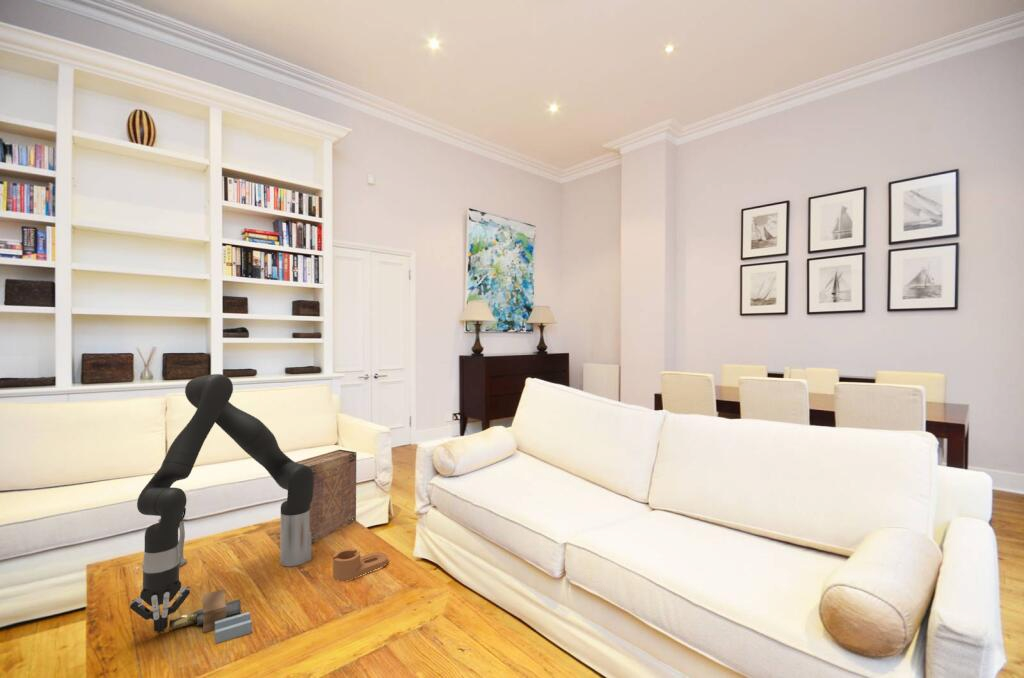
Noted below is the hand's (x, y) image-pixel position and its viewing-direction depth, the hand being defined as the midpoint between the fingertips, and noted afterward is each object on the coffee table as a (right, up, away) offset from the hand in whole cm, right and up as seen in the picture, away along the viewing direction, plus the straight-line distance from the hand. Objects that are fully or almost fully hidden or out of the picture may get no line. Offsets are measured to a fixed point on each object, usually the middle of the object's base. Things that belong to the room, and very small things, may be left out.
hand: (160, 631), depth 120 cm
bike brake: (-24, -1, +35) cm, 43 cm away
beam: (+10, -1, +6) cm, 12 cm away
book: (+17, -1, +61) cm, 64 cm away
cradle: (+18, -1, +1) cm, 18 cm away
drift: (+4, 0, +3) cm, 5 cm away
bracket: (+41, -2, +34) cm, 53 cm away
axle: (+11, -1, +7) cm, 13 cm away
